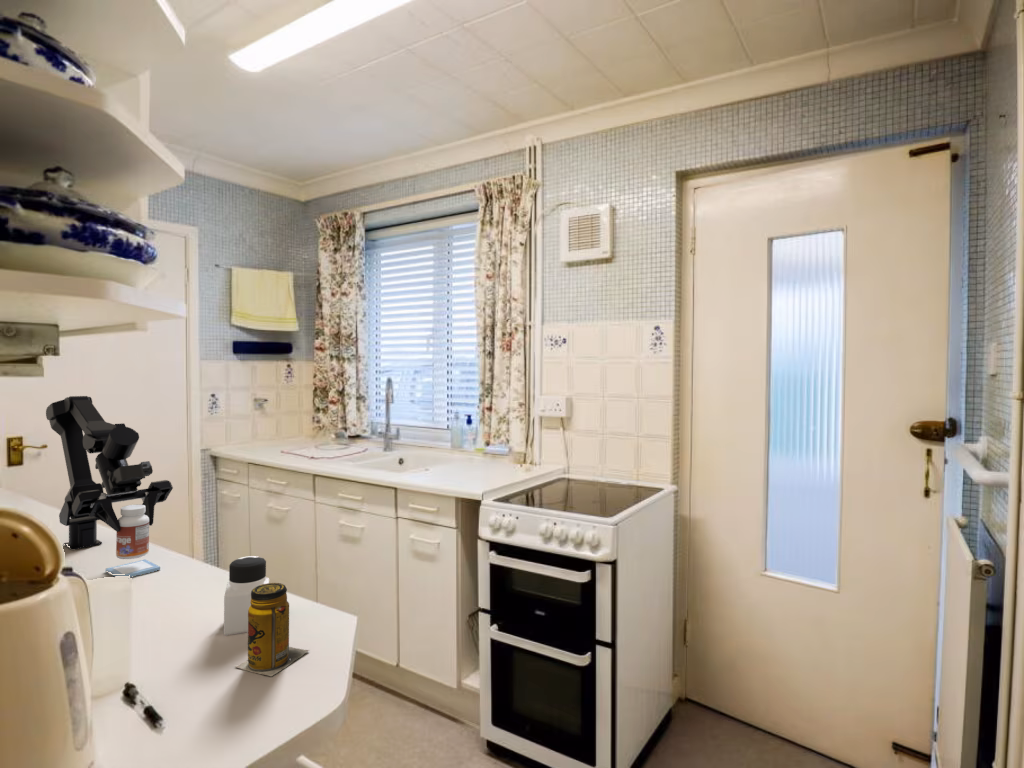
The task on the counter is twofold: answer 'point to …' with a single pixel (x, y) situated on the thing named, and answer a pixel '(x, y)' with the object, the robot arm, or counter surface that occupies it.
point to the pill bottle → (133, 533)
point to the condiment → (269, 631)
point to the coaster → (134, 568)
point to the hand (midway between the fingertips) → (135, 527)
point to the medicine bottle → (242, 592)
